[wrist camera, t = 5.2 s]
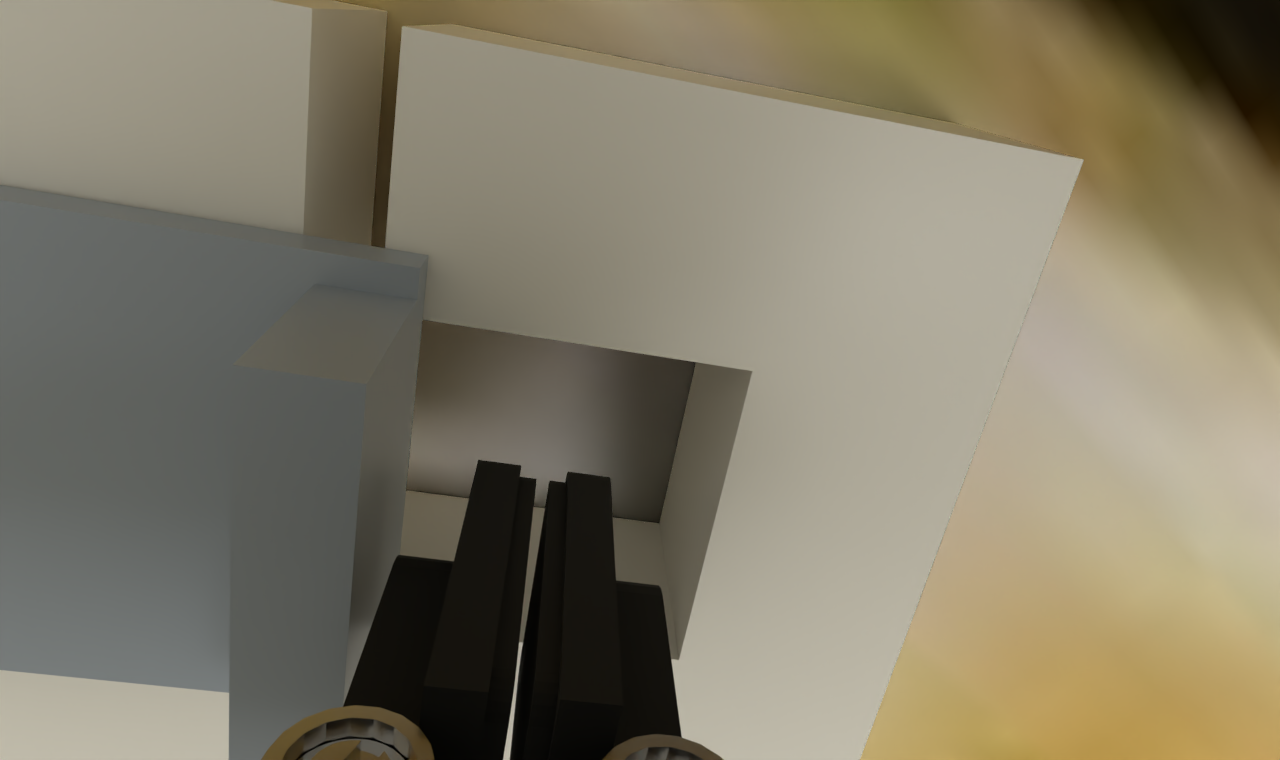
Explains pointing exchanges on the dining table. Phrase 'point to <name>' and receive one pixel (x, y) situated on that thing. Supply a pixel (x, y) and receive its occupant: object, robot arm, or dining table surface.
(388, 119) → the dining table surface
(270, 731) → the plate
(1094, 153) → the dining table surface
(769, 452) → the socket
